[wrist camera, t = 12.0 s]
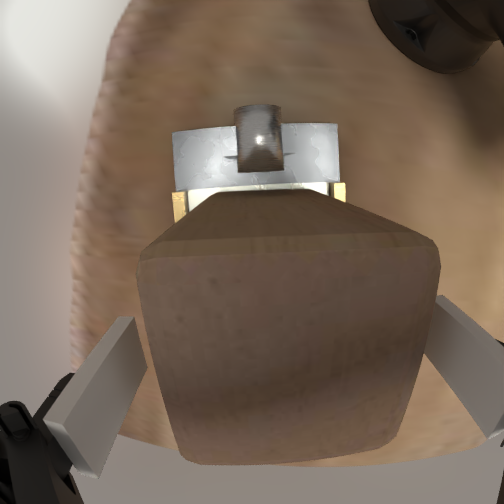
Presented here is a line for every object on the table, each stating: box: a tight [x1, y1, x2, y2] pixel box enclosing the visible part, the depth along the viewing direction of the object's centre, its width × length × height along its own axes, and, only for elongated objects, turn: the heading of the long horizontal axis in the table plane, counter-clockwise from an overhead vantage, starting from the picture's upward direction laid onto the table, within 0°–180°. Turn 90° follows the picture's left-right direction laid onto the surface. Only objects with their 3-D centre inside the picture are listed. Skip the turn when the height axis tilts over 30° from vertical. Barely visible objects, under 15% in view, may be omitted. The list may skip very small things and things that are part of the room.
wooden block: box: [136, 189, 441, 465], centre depth 19 cm, size 10×10×20 cm
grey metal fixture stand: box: [172, 105, 345, 223], centre depth 26 cm, size 22×15×10 cm
